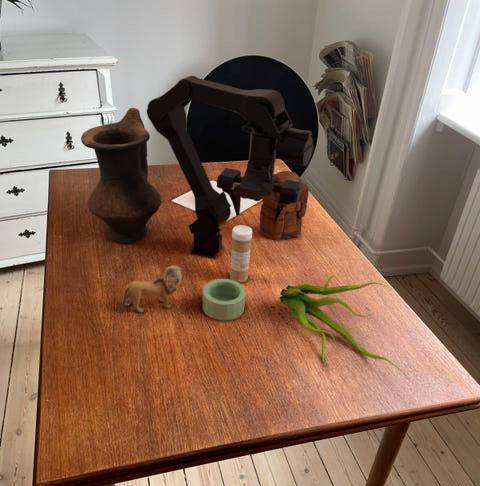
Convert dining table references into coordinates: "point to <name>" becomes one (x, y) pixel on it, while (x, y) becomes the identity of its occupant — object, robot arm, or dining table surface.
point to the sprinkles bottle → (240, 253)
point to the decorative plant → (310, 306)
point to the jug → (122, 178)
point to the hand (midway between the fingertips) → (256, 219)
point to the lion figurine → (154, 288)
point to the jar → (223, 299)
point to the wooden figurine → (283, 211)
